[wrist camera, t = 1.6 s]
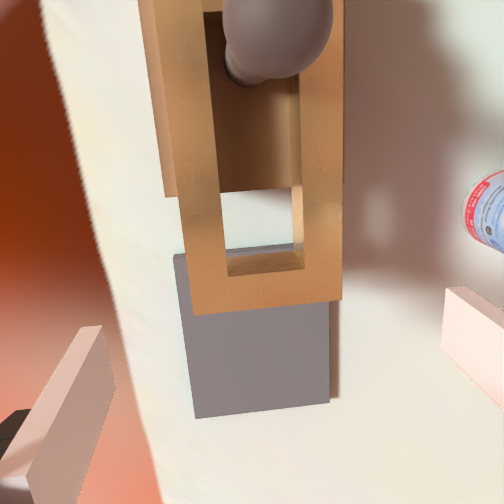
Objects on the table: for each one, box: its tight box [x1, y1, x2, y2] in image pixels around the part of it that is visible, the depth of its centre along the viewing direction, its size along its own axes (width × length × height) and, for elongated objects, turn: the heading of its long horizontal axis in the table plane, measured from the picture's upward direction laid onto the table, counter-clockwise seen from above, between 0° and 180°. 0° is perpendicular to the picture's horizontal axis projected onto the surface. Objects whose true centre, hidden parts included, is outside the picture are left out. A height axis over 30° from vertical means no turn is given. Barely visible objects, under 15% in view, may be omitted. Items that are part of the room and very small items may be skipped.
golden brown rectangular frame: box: [153, 0, 343, 316], centre depth 21 cm, size 8×16×3 cm, turn 5°
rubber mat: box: [173, 243, 330, 419], centre depth 34 cm, size 12×15×1 cm
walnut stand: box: [138, 0, 345, 198], centre depth 19 cm, size 10×13×20 cm
